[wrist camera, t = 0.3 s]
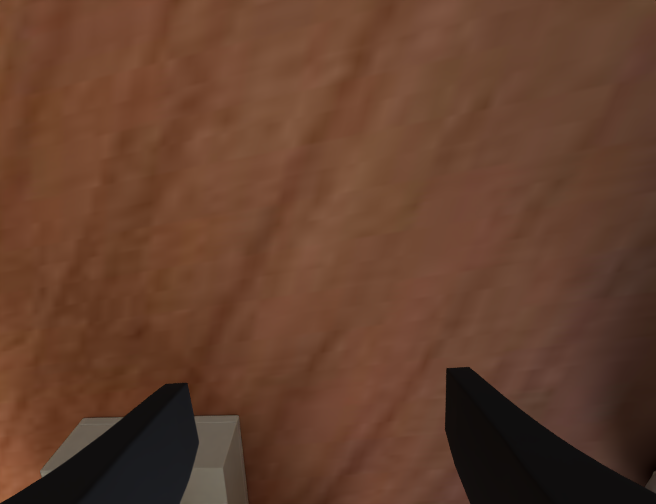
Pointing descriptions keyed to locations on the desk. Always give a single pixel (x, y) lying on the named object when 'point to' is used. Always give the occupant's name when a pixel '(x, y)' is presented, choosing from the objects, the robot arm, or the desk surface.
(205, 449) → the beige square socket block
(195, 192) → the desk surface
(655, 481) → the white rock
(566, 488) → the robot arm
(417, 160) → the desk surface
